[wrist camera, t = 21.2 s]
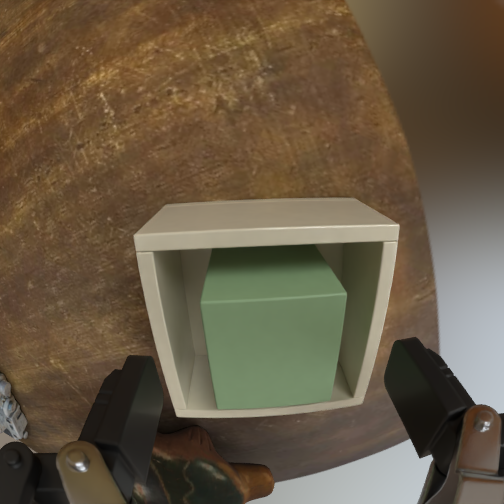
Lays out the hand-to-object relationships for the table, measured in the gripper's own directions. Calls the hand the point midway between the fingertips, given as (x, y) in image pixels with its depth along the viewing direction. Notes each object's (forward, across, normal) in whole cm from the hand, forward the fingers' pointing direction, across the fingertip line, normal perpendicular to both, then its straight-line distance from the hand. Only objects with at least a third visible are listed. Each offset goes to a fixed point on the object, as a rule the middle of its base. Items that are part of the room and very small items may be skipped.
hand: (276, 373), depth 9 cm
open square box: (+6, 0, 0) cm, 6 cm away
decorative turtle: (+6, +7, +14) cm, 16 cm away
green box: (+6, 0, 0) cm, 6 cm away
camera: (+6, +25, +12) cm, 28 cm away
